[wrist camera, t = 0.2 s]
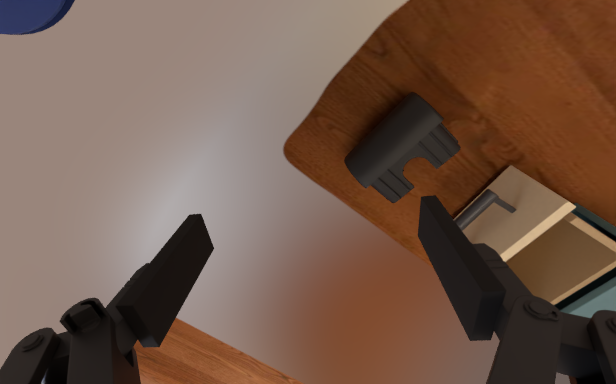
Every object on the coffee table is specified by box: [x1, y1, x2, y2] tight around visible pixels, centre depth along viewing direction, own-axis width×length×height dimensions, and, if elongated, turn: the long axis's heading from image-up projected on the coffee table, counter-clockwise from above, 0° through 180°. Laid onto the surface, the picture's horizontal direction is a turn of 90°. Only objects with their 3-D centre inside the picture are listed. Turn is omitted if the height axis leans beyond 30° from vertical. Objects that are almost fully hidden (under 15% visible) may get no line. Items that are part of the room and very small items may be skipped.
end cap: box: [344, 92, 460, 203], centre depth 30 cm, size 10×7×7 cm
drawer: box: [453, 165, 616, 305], centre depth 32 cm, size 16×13×9 cm
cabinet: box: [554, 203, 616, 318], centre depth 35 cm, size 13×15×11 cm
